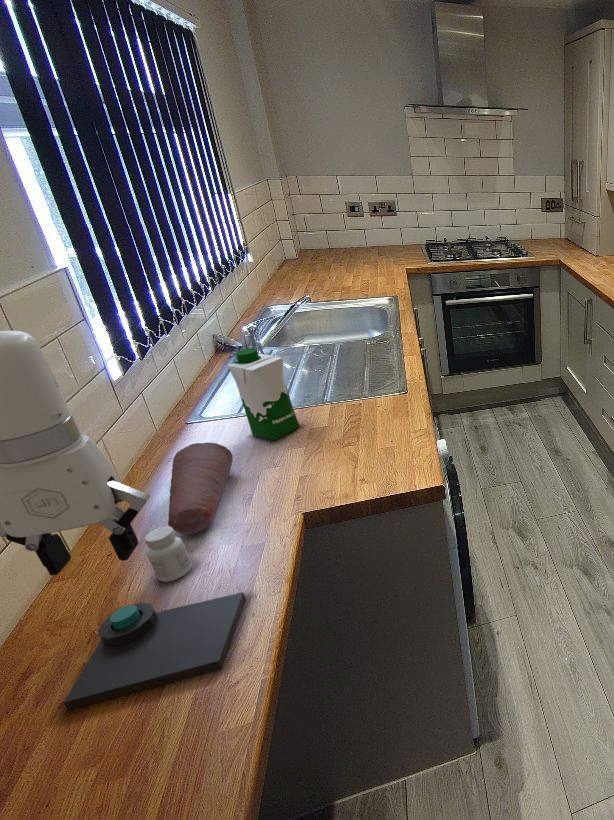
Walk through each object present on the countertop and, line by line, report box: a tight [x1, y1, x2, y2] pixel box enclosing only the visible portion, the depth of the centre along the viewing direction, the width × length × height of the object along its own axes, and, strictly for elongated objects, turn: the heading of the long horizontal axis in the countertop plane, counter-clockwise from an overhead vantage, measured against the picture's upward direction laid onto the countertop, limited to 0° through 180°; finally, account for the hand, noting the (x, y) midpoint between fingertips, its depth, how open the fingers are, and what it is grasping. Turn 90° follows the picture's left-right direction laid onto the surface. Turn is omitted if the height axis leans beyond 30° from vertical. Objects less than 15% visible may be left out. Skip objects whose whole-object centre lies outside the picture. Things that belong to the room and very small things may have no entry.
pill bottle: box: [144, 525, 193, 583], centre depth 81 cm, size 4×4×8 cm
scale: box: [63, 591, 247, 711], centre depth 70 cm, size 16×13×3 cm
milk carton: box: [227, 348, 301, 442], centre depth 120 cm, size 9×9×20 cm
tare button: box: [109, 604, 141, 630], centre depth 71 cm, size 3×3×2 cm
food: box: [167, 442, 234, 535], centre depth 97 cm, size 21×9×9 cm, turn 32°
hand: (95, 559), depth 67 cm, fingers open, 6 cm apart
